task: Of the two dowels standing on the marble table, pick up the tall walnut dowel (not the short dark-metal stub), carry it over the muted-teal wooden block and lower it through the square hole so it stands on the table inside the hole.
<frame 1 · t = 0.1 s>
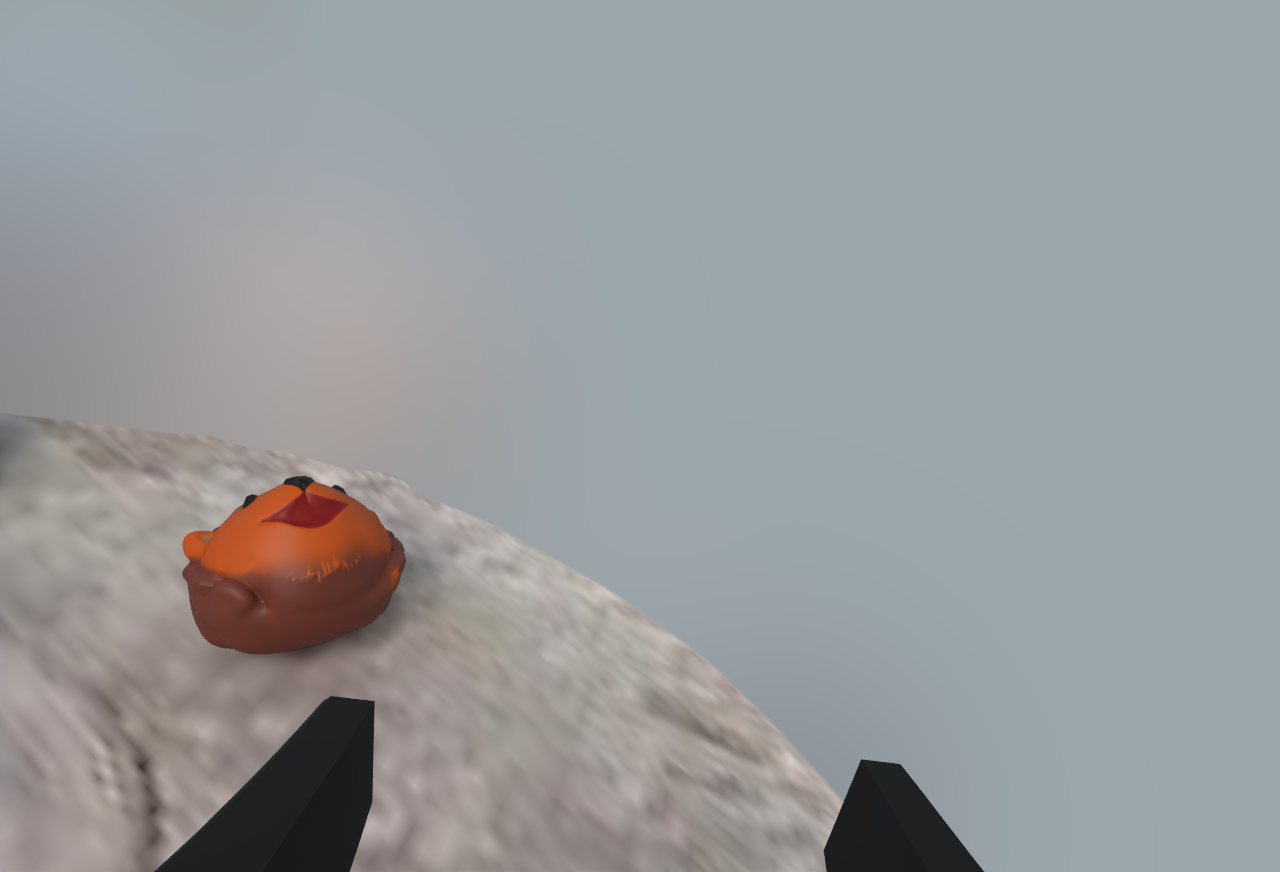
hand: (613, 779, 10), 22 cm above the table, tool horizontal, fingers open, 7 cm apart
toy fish: (301, 637, 44), on the table
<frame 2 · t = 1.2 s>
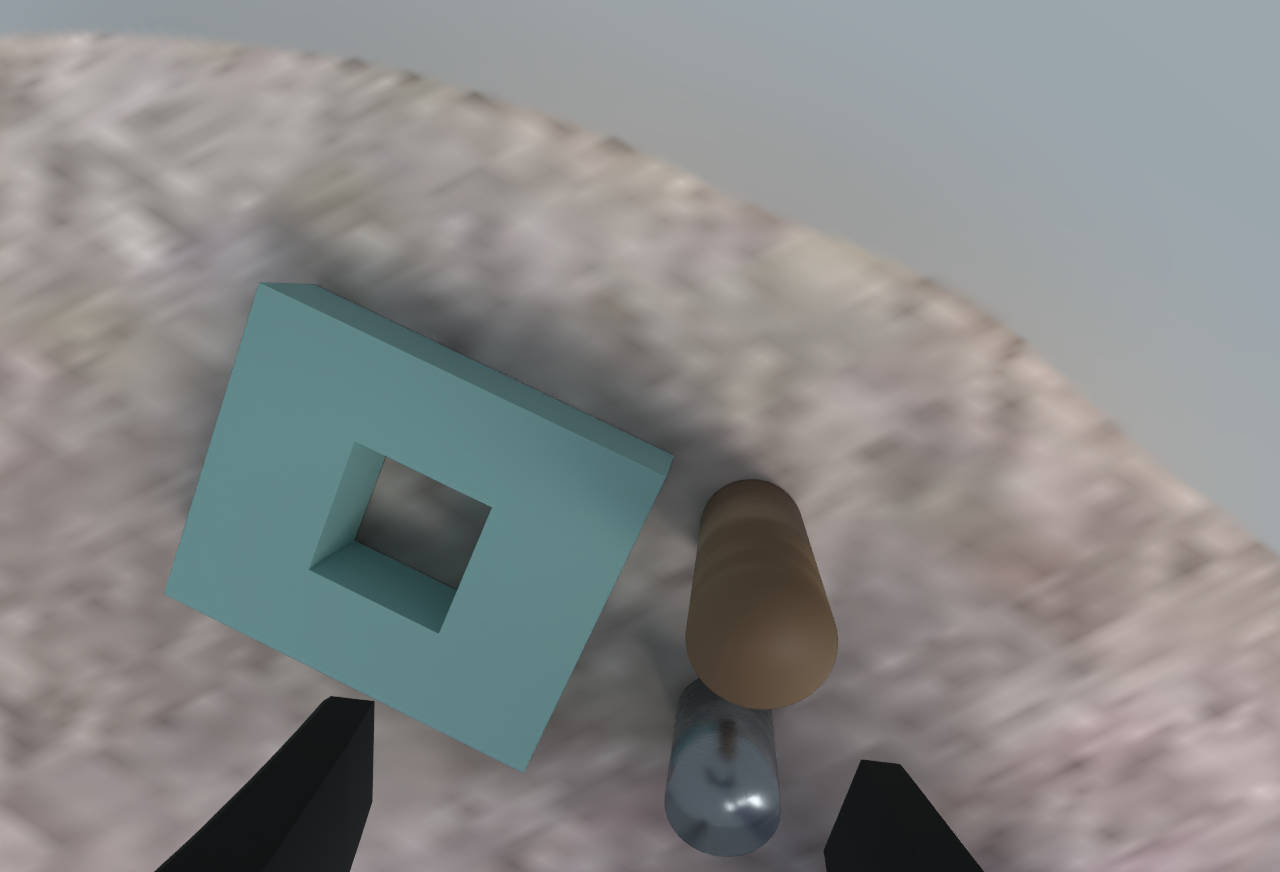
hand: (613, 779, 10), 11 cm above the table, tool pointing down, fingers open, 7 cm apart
metal stub: (723, 716, 22), on the table
hole block: (434, 512, 22), on the table
walnut dowel: (751, 528, 21), on the table
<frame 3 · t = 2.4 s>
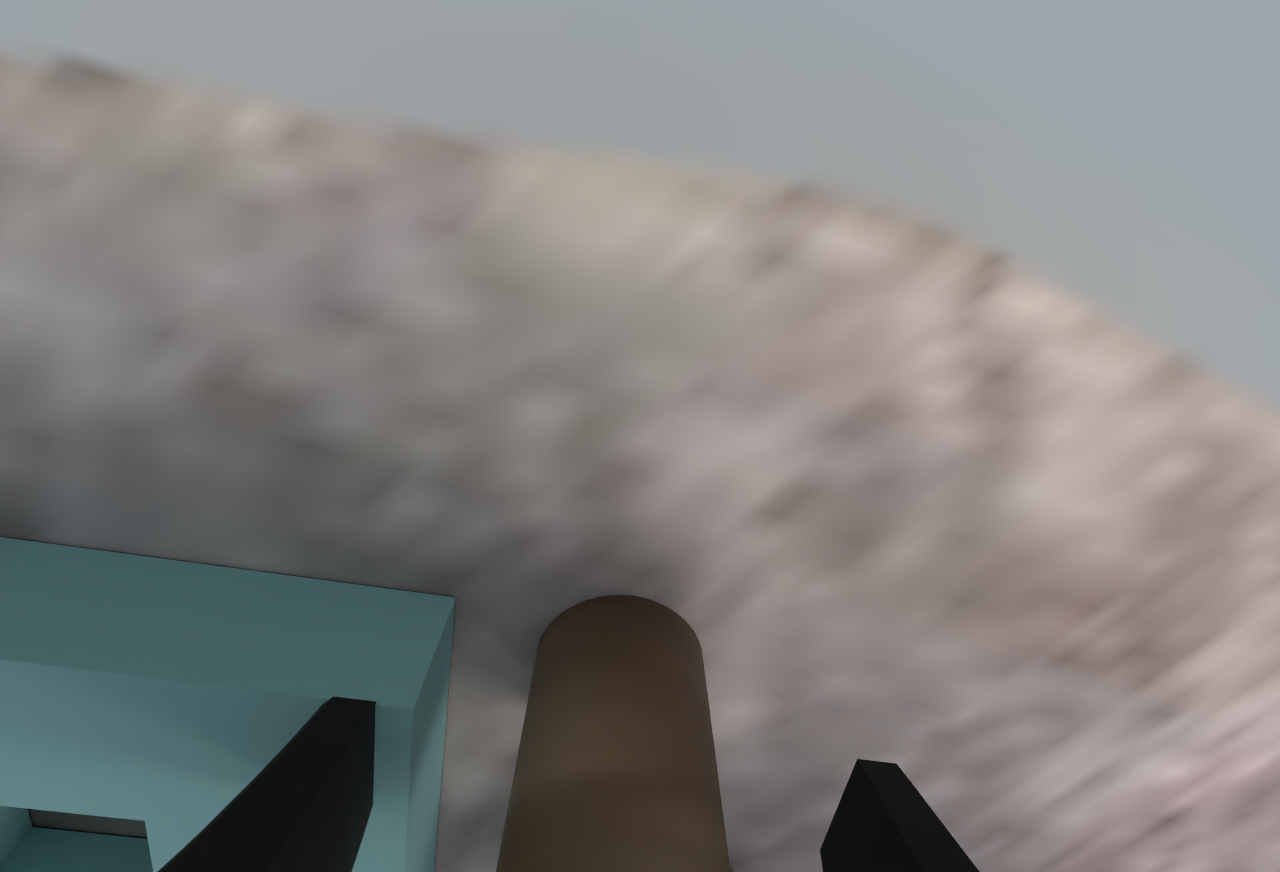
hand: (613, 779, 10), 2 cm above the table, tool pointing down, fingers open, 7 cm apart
hole block: (127, 765, 13), on the table
walnut dowel: (619, 663, 13), on the table
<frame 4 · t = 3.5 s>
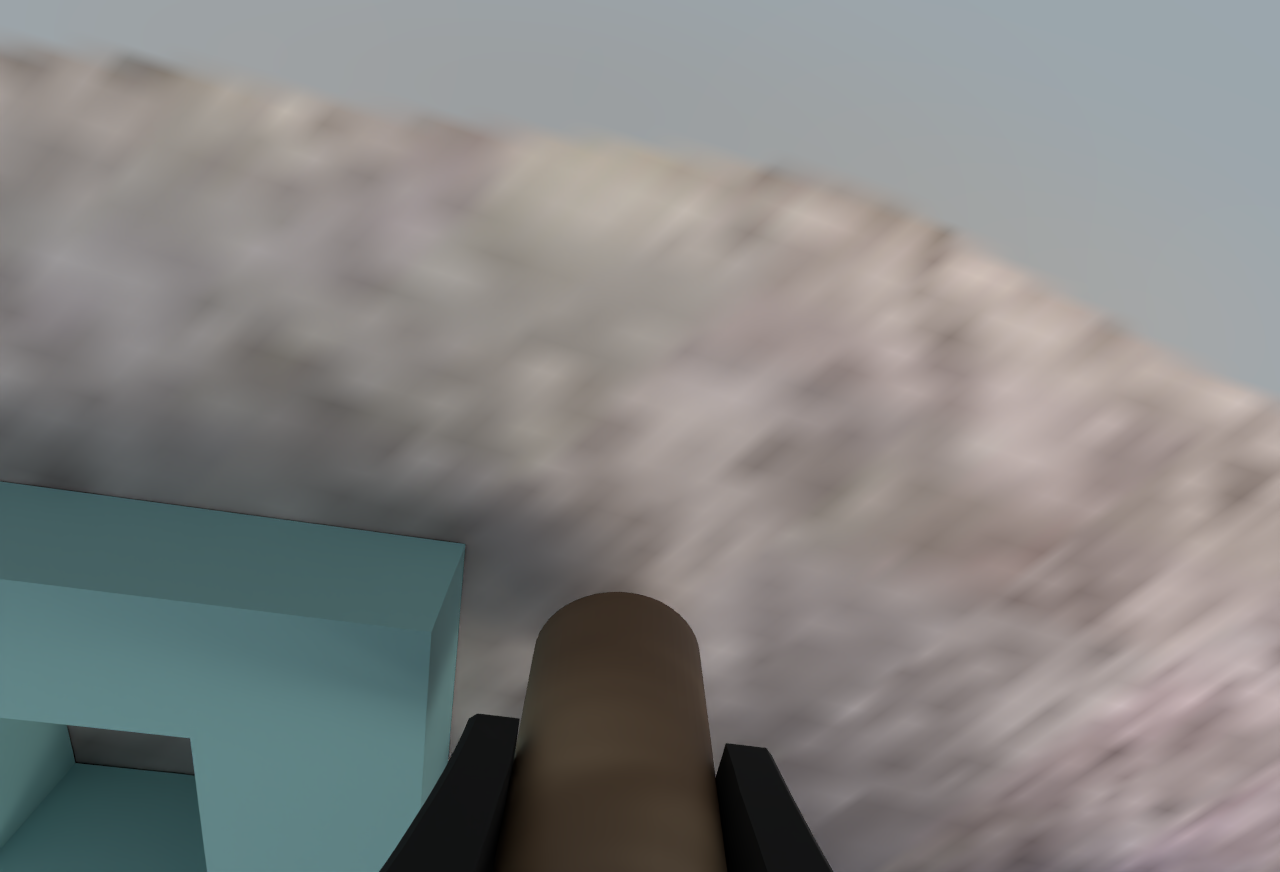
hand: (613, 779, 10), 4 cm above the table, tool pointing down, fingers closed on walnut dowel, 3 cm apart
hole block: (164, 703, 15), on the table
walnut dowel: (616, 660, 13), point 1 cm above the table, touching gripper
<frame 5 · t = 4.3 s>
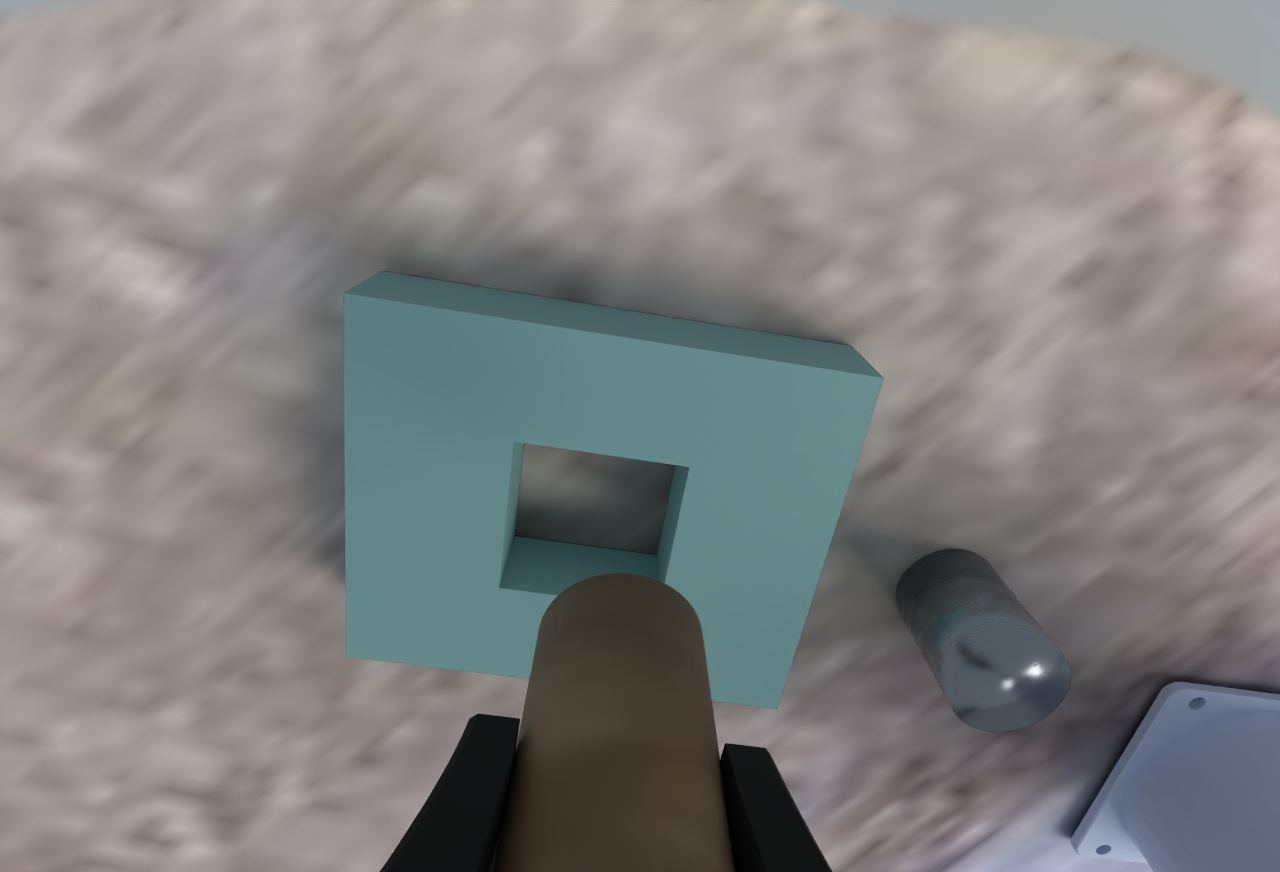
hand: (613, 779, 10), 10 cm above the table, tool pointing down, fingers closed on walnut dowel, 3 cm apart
metal stub: (945, 590, 21), on the table
hole block: (595, 483, 20), on the table
walnut dowel: (620, 641, 13), point 7 cm above the table, touching gripper
when the fingers open (3 cm above the table, at t = 5.9 s): walnut dowel stays where it is, resting in hole block.
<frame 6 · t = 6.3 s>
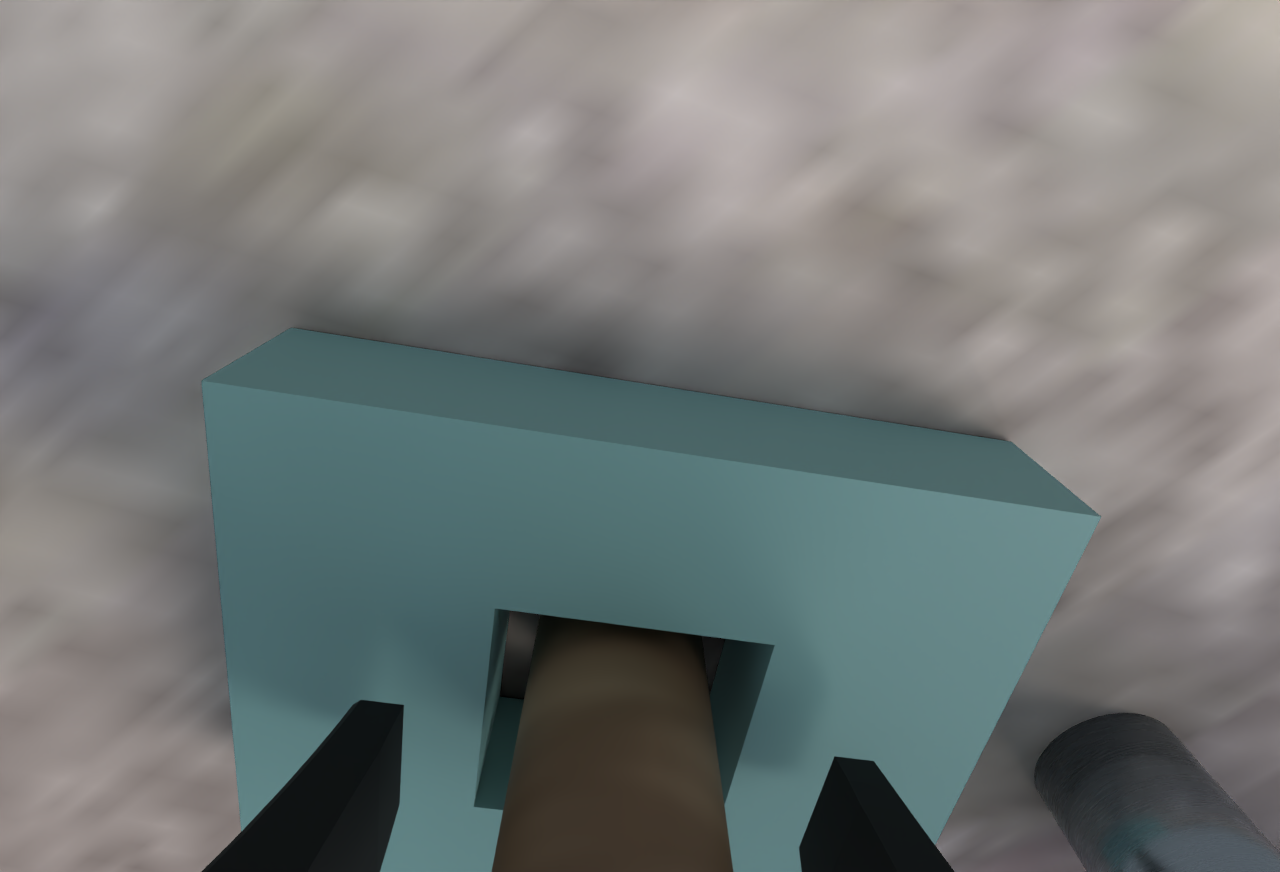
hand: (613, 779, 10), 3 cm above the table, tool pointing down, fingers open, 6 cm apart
metal stub: (1105, 765, 15), on the table
hole block: (618, 628, 13), on the table
walnut dowel: (619, 616, 13), resting in hole block
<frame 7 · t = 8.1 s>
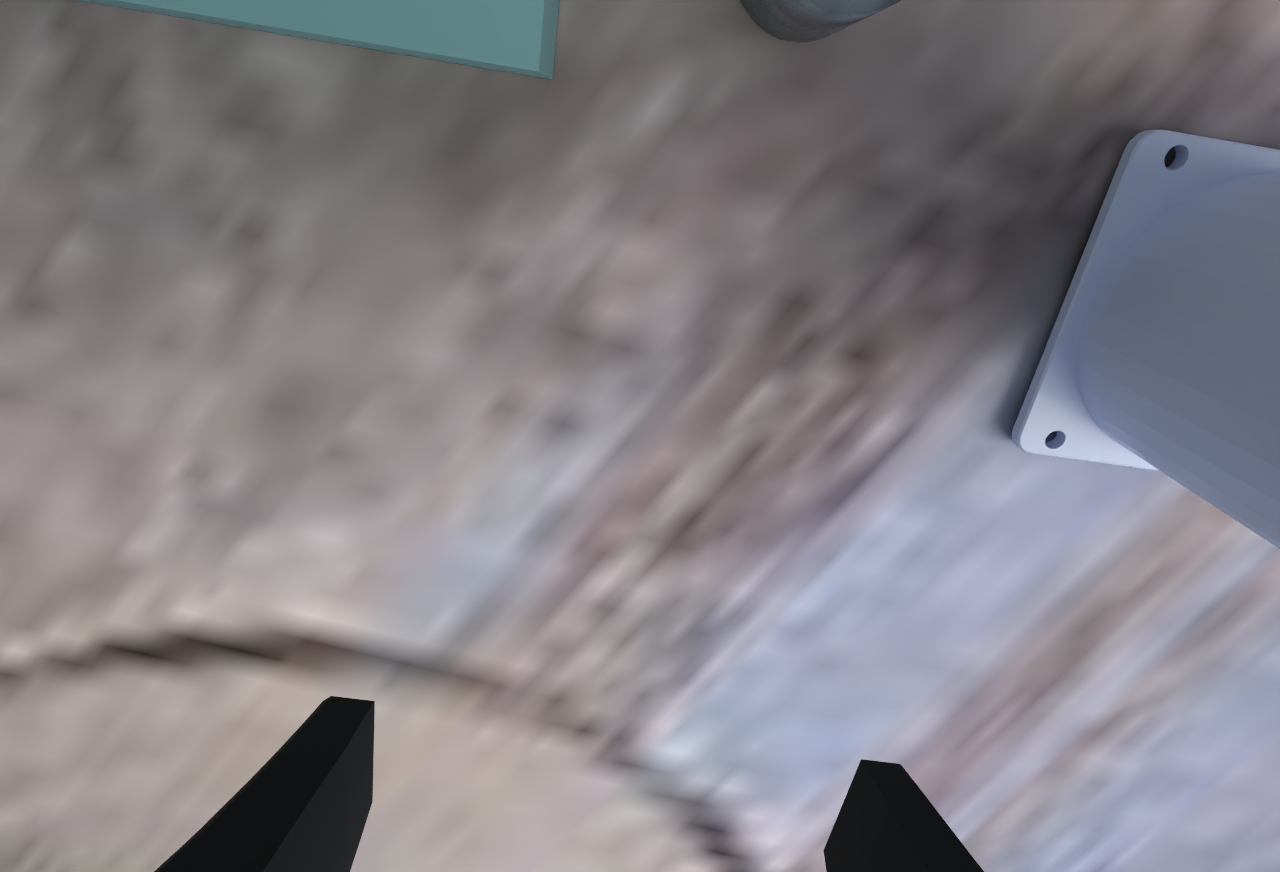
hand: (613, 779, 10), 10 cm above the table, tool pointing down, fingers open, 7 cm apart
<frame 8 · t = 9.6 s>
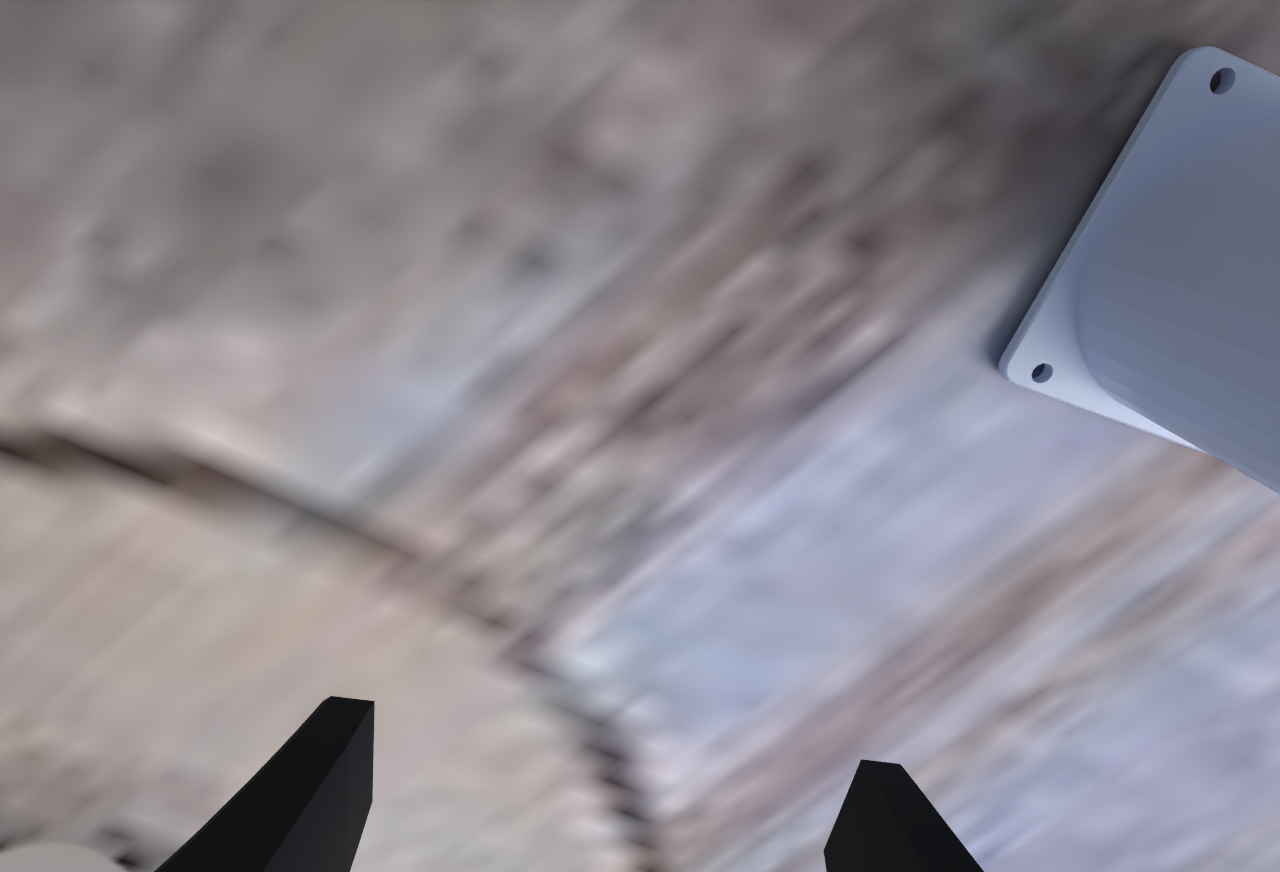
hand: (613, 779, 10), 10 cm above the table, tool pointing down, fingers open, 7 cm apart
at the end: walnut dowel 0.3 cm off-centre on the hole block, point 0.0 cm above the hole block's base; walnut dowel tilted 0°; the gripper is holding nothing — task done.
